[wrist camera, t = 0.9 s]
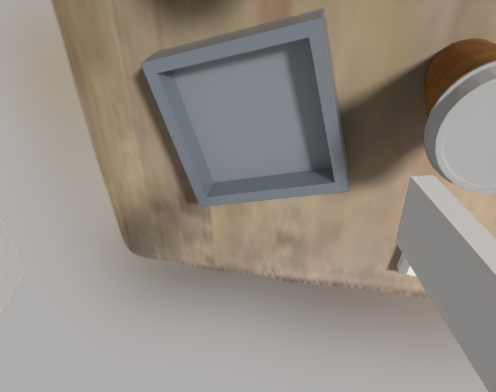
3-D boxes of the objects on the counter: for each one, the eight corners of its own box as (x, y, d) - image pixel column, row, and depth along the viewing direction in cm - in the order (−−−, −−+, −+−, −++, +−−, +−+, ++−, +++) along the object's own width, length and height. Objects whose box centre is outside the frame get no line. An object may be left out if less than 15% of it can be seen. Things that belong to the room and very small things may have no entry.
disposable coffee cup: (549, 20, 30) (643, 68, 20) (500, 131, 36) (557, 209, 26) (421, 14, 32) (453, 56, 22) (394, 121, 37) (410, 191, 28)
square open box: (156, 51, 38) (140, 63, 35) (323, 8, 33) (321, 17, 30) (209, 188, 46) (200, 207, 43) (348, 171, 41) (348, 191, 38)
